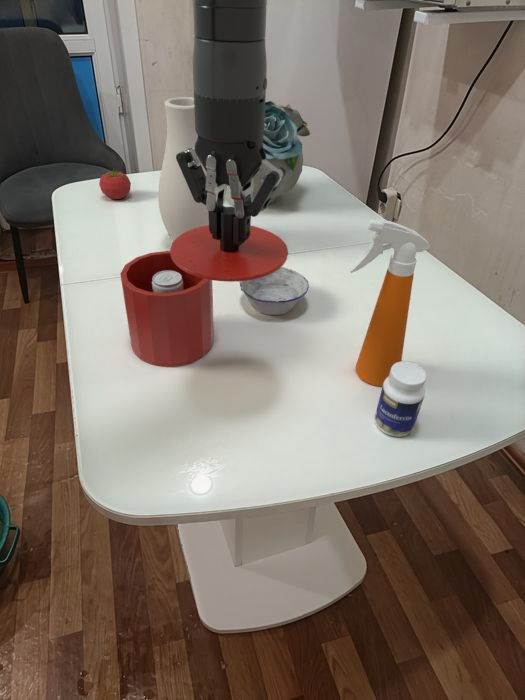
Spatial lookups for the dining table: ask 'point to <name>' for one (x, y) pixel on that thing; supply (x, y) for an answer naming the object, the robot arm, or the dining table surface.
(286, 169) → the flower arrangement
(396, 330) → the spray bottle
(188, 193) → the vase
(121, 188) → the tomato
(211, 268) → the lid
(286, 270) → the bowl
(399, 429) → the pill bottle
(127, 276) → the pot
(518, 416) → the dining table surface
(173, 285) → the beverage can
